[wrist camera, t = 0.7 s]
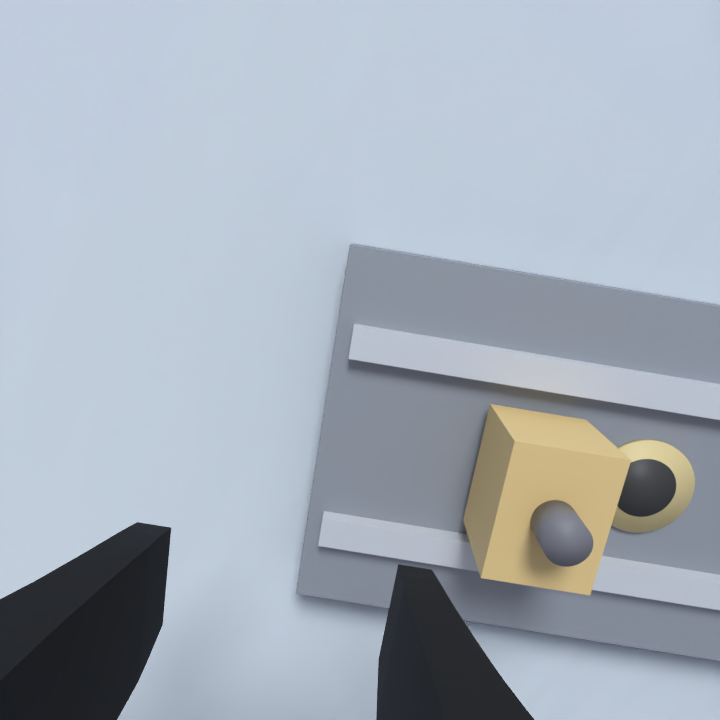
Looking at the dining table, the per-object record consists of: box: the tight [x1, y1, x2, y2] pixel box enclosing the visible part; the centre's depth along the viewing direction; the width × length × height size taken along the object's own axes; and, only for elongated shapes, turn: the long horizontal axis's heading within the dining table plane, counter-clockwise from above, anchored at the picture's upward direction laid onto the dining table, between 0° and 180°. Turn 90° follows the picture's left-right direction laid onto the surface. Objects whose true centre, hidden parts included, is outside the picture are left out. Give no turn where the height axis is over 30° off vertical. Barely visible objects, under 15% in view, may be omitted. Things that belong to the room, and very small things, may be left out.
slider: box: [463, 404, 631, 595], centre depth 15 cm, size 3×4×4 cm
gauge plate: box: [296, 244, 720, 661], centre depth 16 cm, size 19×12×6 cm, turn 81°
